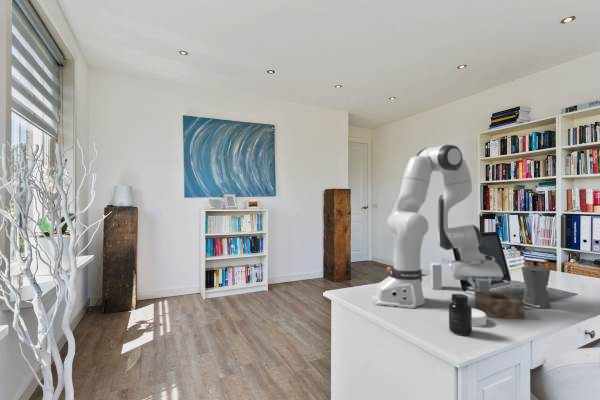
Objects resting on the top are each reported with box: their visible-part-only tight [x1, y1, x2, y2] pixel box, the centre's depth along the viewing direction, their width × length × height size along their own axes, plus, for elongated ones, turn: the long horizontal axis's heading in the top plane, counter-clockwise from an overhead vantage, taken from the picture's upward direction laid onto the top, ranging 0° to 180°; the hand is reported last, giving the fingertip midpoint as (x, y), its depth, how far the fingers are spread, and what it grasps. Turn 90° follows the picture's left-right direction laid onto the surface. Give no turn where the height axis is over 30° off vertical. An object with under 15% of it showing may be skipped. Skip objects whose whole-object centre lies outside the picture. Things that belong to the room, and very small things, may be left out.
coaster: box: [471, 307, 488, 327], centre depth 110 cm, size 10×10×4 cm
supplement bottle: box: [448, 293, 473, 336], centre depth 101 cm, size 7×7×12 cm
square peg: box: [474, 278, 490, 293], centre depth 132 cm, size 4×4×9 cm
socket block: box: [474, 291, 526, 319], centre depth 118 cm, size 12×12×6 cm
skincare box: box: [429, 262, 443, 290], centre depth 152 cm, size 6×4×12 cm
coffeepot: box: [521, 260, 552, 310], centre depth 126 cm, size 15×9×18 cm, turn 136°
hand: (482, 288), depth 132 cm, fingers closed on square peg, 4 cm apart
